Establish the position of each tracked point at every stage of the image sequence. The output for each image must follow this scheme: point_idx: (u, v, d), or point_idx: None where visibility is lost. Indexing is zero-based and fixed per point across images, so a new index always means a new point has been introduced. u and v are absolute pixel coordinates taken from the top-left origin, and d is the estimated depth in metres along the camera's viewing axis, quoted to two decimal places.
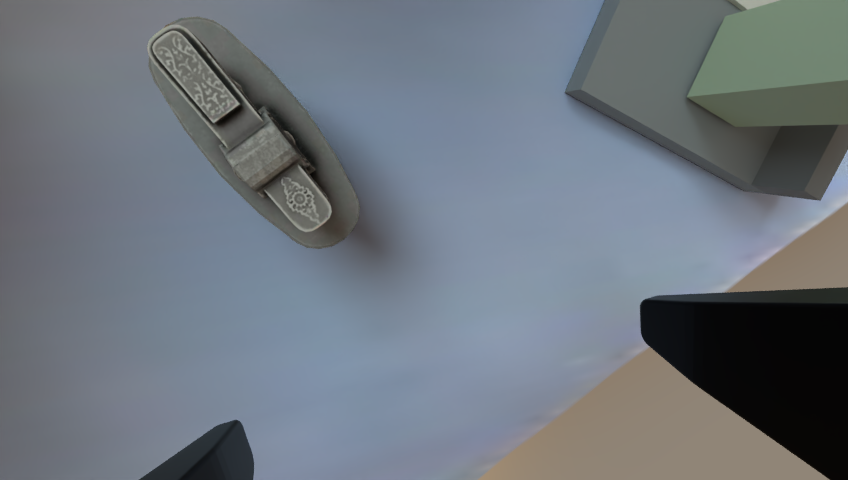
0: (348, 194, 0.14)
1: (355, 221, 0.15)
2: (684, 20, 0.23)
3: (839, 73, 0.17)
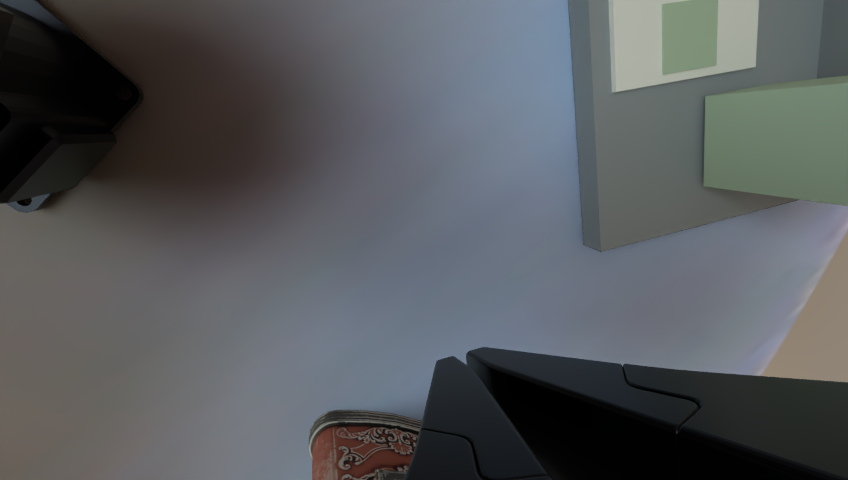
0: None
1: None
2: (666, 127, 0.21)
3: None
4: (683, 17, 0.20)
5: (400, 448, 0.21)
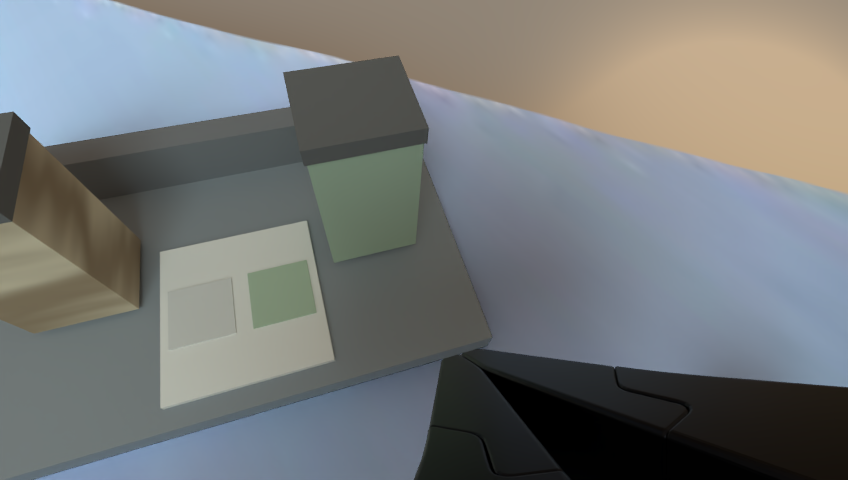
0: None
1: None
2: (364, 293, 0.22)
3: (414, 159, 0.17)
4: (264, 303, 0.21)
5: None
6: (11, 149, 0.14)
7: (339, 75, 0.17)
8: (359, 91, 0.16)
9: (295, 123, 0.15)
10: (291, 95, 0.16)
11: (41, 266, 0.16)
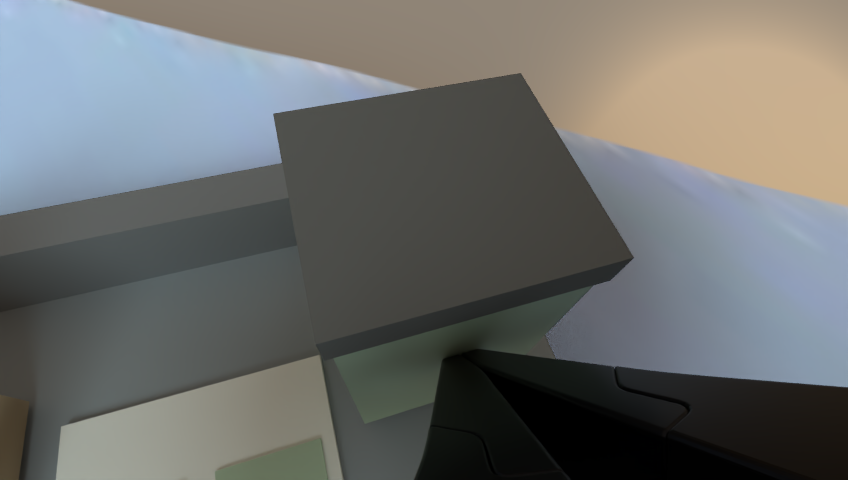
0: None
1: None
2: None
3: (564, 303, 0.08)
4: None
5: None
6: None
7: (400, 119, 0.07)
8: (451, 159, 0.07)
9: (302, 252, 0.06)
10: (292, 172, 0.07)
11: None
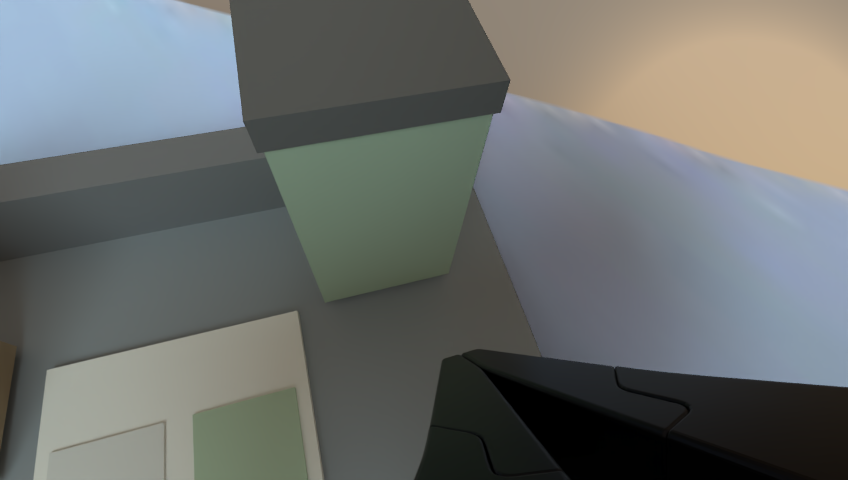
0: None
1: None
2: (392, 449, 0.13)
3: (471, 145, 0.09)
4: (220, 476, 0.12)
5: None
6: None
7: None
8: (371, 10, 0.08)
9: (239, 64, 0.08)
10: (237, 12, 0.08)
11: None
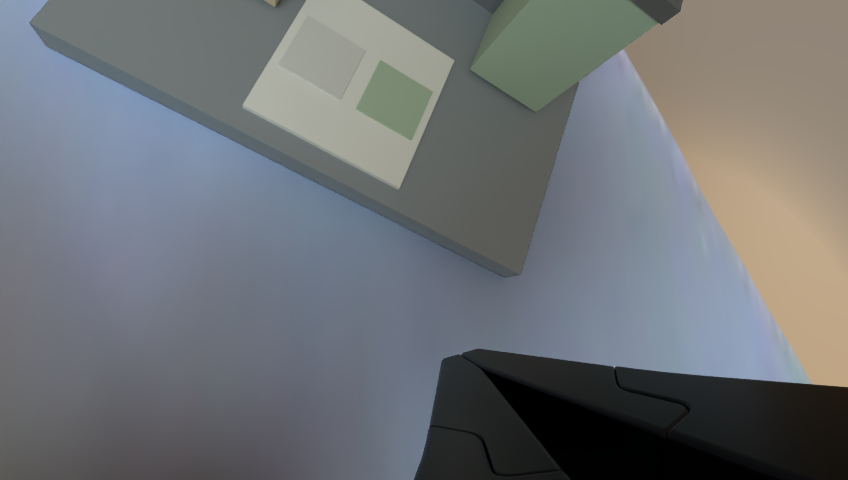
0: None
1: None
2: (454, 159, 0.22)
3: (634, 31, 0.18)
4: (377, 97, 0.20)
5: None
6: None
7: None
8: None
9: None
10: None
11: None
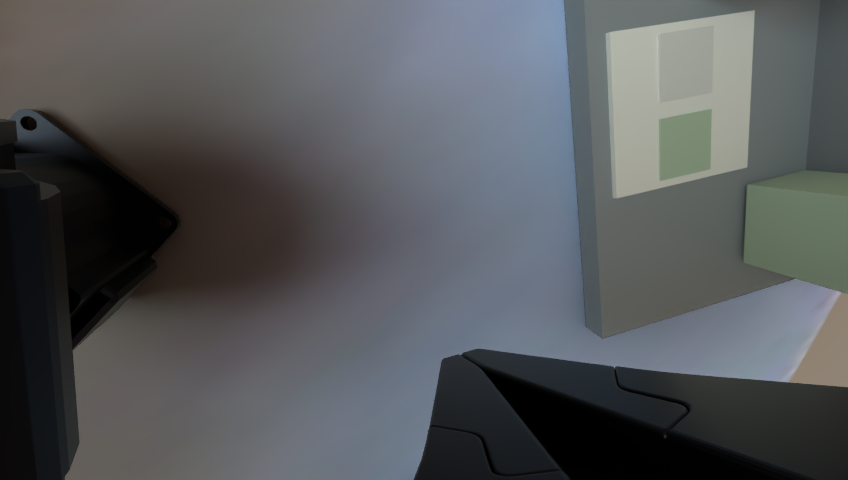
0: None
1: None
2: (663, 224, 0.22)
3: None
4: (678, 128, 0.21)
5: None
6: None
7: None
8: None
9: None
10: None
11: None
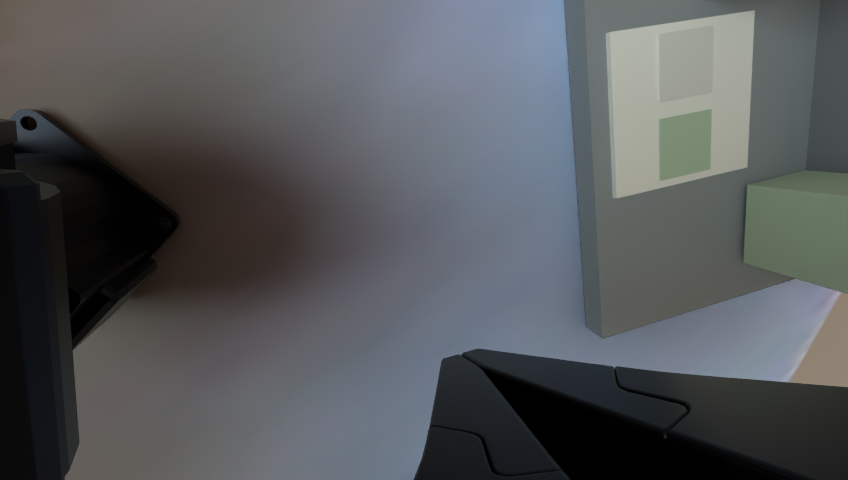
0: None
1: None
2: (663, 224, 0.22)
3: None
4: (678, 128, 0.21)
5: None
6: None
7: None
8: None
9: None
10: None
11: None
